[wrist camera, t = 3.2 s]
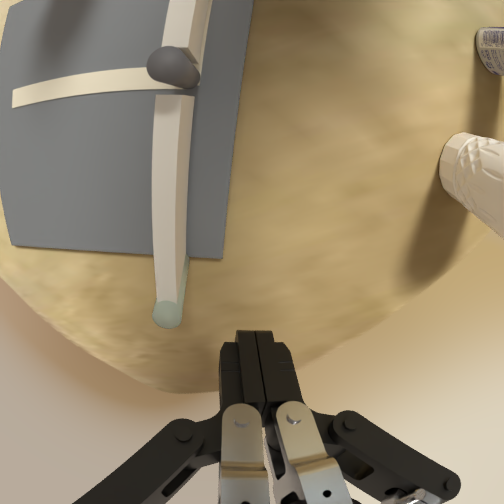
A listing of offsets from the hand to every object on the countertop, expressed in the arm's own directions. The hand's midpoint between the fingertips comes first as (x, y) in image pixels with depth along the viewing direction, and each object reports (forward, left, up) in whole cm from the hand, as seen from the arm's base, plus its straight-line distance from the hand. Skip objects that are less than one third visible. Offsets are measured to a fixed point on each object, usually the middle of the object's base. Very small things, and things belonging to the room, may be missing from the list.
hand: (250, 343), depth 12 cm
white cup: (-9, +21, -12) cm, 26 cm away
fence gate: (-3, -4, -11) cm, 12 cm away
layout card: (-9, -11, -12) cm, 19 cm away
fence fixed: (-15, -4, -11) cm, 19 cm away
